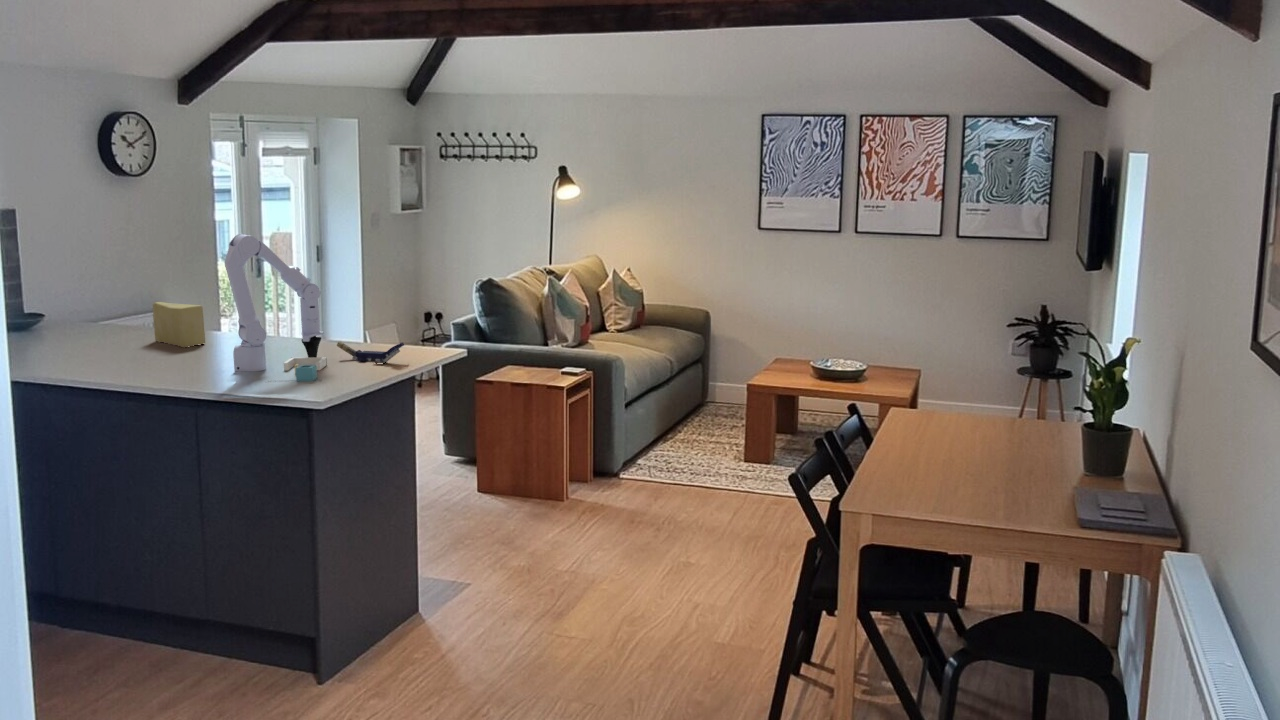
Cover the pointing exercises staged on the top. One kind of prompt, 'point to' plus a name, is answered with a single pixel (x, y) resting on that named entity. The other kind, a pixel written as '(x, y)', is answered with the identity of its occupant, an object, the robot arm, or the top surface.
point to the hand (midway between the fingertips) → (312, 359)
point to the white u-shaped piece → (306, 362)
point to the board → (292, 381)
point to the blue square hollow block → (306, 373)
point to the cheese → (178, 324)
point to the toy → (371, 353)
